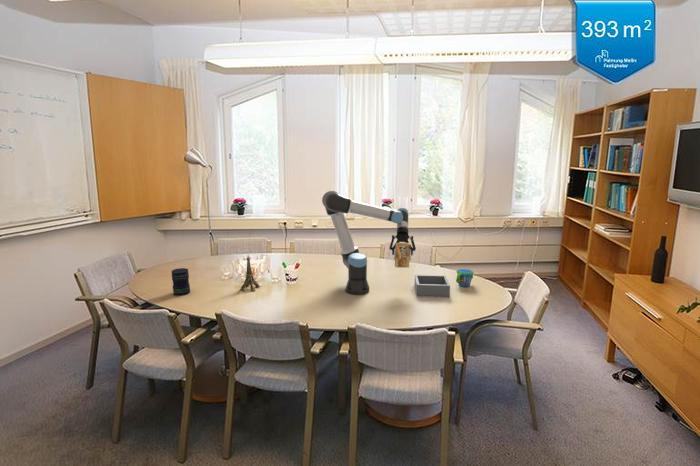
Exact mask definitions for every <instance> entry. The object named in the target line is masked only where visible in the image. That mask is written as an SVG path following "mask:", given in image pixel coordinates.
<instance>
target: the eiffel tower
mask: <svg viewBox="0 0 700 466" xmlns="http://www.w3.org/2000/svg"><path fill="white" fill-rule="evenodd" d="M250 260H251V257H249V255H247V257H246V272H245V275H244V276H245V279H244V283H243V284H242V285H241V286H240V289H239V290H238V292H243V291H245V288H248V287H250V290H249V291H250V293H255V292H256V289H260V288H261V287H262V286H261V285H260V284H259V283H258V282H257V281H256V279H255V278H254V276H253V275H254V273H253V272H252V266H251V261H250ZM254 286H255V287H254Z"/></svg>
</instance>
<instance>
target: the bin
mask: <svg viewBox="0 0 700 466" xmlns="http://www.w3.org/2000/svg"><path fill="white" fill-rule="evenodd" d="M413 285H414V290H415V296H416V297H422V298H423V297H428V298H431V297H432V298H450V296H451V284H450V282H449V280H448V278H447V276H446V275H435V274H432V275H431V274H414V284H413Z"/></svg>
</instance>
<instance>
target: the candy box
mask: <svg viewBox="0 0 700 466" xmlns="http://www.w3.org/2000/svg"><path fill="white" fill-rule="evenodd" d="M395 243H396V242H395ZM410 245H411V242H409V243H405V242H399V243H396V246H395V260H394V267H395V268H396V269H397V268H403V269H404V268H407V269H408V268H410Z"/></svg>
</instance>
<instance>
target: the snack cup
mask: <svg viewBox="0 0 700 466" xmlns="http://www.w3.org/2000/svg"><path fill="white" fill-rule="evenodd" d="M456 274H457V275H456V279H455V282H456V283H457V284H458V286H460V287H463V288H469V287H470V286H471V284H472V279H473V278H474V270H471V269H467V268H459V269H456Z"/></svg>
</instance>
